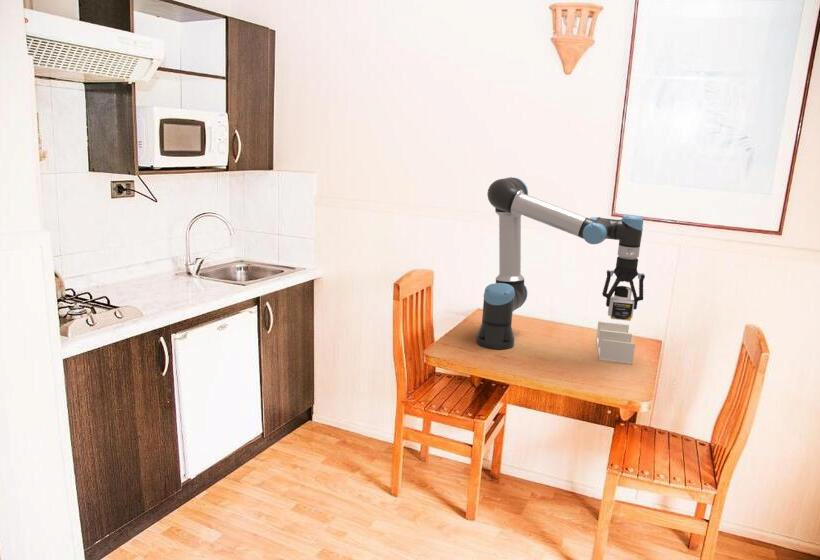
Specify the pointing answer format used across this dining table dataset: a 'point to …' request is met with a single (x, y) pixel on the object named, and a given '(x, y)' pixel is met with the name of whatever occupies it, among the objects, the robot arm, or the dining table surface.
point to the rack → (614, 342)
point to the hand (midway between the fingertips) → (619, 315)
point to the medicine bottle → (622, 304)
